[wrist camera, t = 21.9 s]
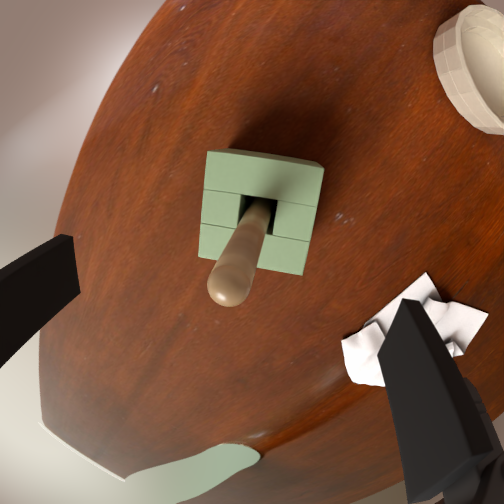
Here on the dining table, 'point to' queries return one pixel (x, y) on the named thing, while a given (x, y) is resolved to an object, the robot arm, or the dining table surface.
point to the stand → (267, 186)
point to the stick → (241, 255)
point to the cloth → (375, 330)
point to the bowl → (473, 65)
